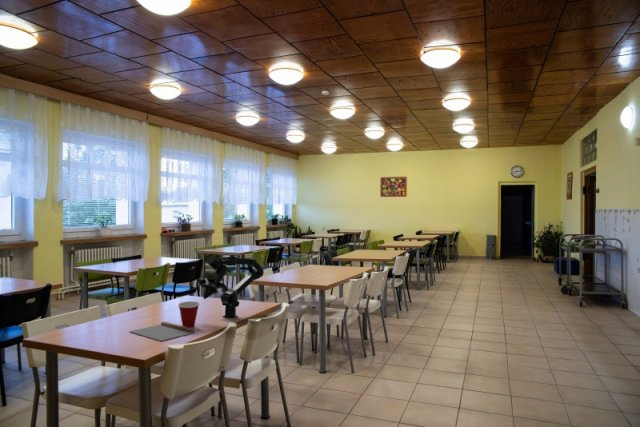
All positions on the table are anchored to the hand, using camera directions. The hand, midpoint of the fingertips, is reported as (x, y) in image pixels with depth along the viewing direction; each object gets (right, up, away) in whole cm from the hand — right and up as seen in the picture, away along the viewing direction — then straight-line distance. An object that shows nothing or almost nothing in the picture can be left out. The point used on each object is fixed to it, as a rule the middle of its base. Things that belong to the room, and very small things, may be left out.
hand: (204, 298), depth 236 cm
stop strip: (-10, -13, -14) cm, 21 cm away
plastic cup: (-6, -13, -8) cm, 17 cm away
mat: (-16, -13, -21) cm, 29 cm away
